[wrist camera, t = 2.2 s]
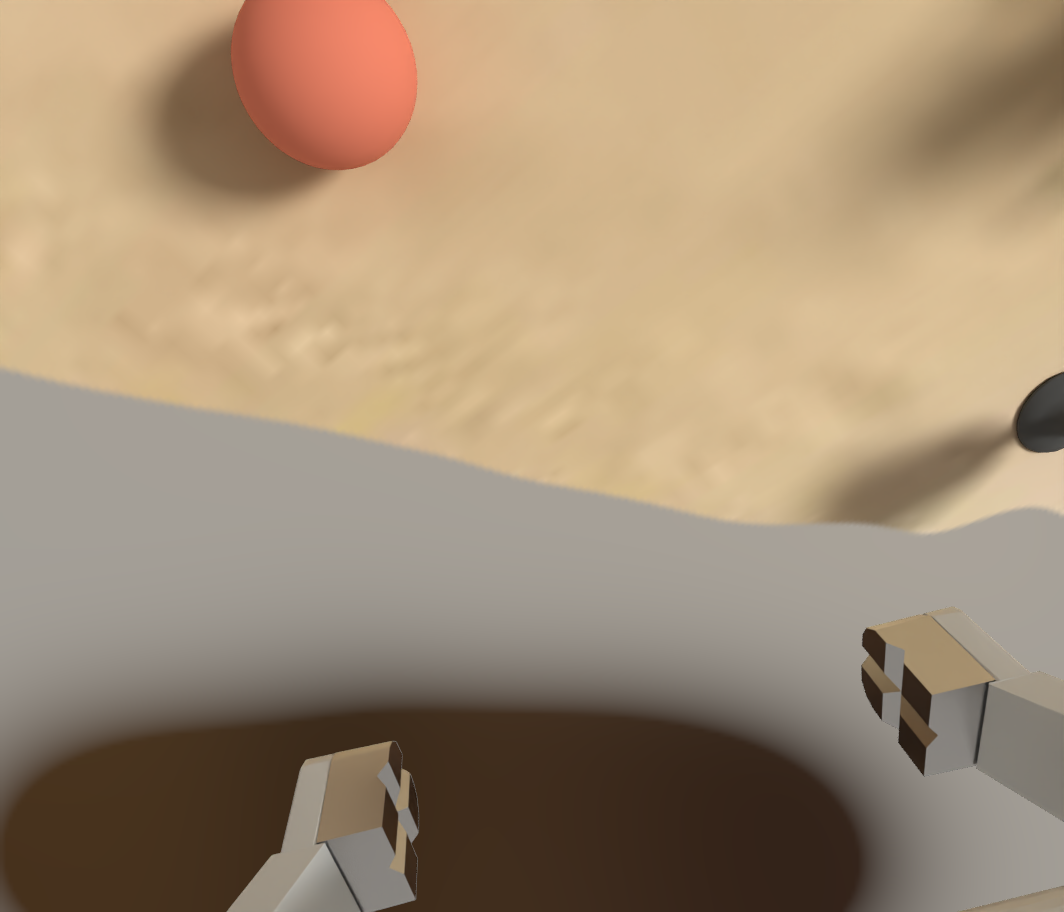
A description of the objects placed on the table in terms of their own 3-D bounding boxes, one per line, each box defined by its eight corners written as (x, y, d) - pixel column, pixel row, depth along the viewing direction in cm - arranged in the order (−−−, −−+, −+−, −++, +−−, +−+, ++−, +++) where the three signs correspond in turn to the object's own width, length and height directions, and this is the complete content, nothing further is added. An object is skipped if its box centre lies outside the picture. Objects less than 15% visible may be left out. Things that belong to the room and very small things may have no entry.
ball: (230, -2, 24) (170, -31, 19) (395, -35, 24) (382, -73, 19) (289, 176, 27) (252, 195, 22) (436, 146, 27) (435, 157, 22)
